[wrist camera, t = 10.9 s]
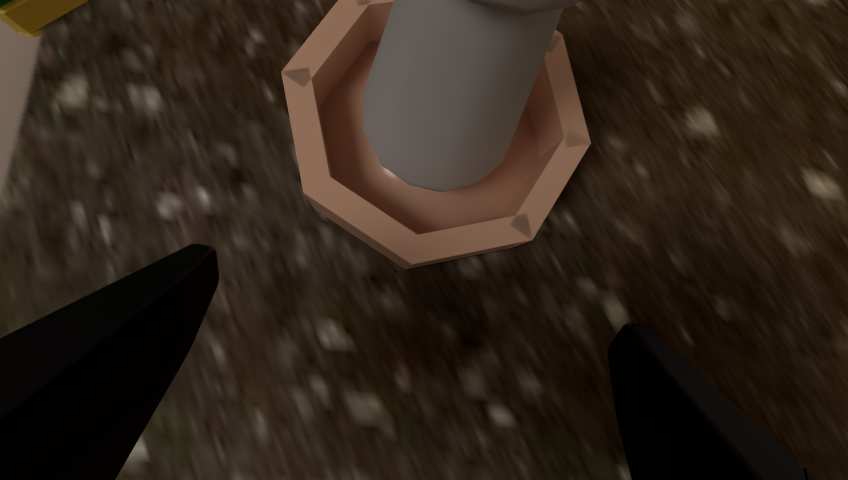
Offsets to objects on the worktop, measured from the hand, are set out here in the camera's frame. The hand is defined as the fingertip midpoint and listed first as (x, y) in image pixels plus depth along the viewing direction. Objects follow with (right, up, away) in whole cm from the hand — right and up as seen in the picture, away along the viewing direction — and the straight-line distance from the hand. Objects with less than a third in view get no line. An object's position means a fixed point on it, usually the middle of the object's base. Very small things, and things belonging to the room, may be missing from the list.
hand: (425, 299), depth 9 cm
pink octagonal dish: (0, +6, +10) cm, 11 cm away
